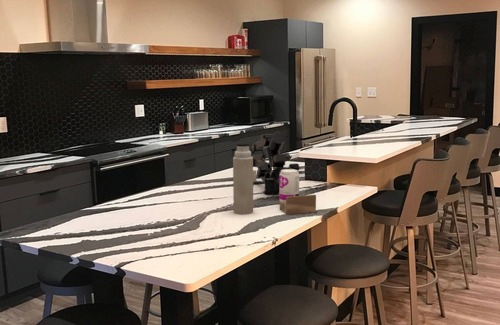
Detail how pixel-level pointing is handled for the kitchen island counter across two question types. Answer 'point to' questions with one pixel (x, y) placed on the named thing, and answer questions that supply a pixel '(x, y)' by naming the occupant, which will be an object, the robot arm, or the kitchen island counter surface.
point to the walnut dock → (299, 204)
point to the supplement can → (289, 184)
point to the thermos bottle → (243, 180)
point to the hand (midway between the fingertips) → (282, 186)
